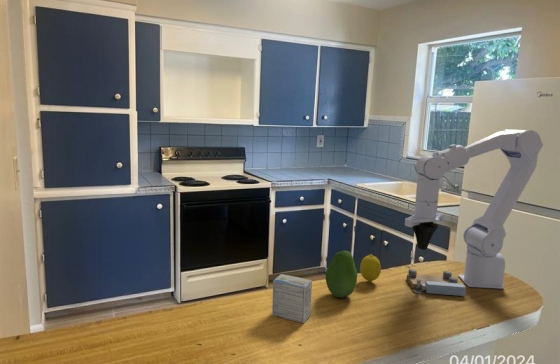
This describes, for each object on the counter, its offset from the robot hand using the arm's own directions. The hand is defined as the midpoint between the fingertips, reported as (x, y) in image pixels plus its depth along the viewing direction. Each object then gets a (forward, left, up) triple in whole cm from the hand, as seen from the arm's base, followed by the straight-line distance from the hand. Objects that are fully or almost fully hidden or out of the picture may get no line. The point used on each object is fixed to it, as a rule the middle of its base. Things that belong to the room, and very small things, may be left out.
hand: (422, 248), depth 111 cm
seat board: (-3, +1, -10) cm, 10 cm away
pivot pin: (+2, +6, -10) cm, 12 cm away
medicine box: (+35, +24, -10) cm, 43 cm away
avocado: (+23, +12, -10) cm, 28 cm away
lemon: (+14, +2, -10) cm, 17 cm away
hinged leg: (-4, +7, -10) cm, 12 cm away
